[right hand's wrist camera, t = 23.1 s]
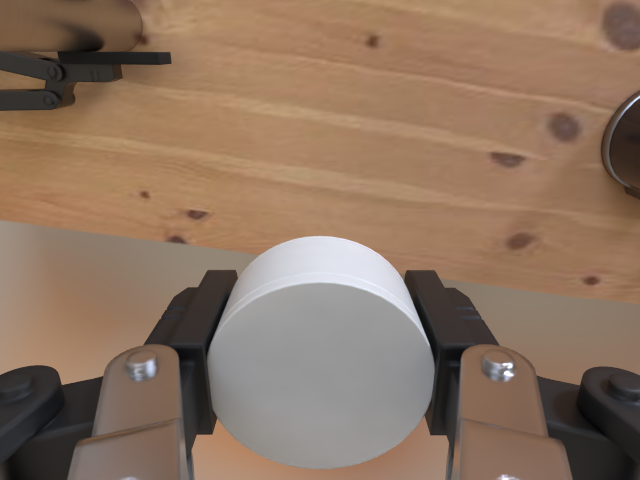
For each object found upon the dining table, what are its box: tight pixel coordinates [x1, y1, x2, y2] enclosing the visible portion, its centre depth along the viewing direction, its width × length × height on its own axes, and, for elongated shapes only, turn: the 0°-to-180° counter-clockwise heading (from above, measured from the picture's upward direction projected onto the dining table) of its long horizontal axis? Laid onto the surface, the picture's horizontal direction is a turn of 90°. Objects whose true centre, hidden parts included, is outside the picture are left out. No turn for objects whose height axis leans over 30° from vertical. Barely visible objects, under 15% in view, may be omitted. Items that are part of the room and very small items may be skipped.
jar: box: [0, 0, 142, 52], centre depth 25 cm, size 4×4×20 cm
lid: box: [207, 236, 435, 469], centre depth 10 cm, size 5×5×2 cm
